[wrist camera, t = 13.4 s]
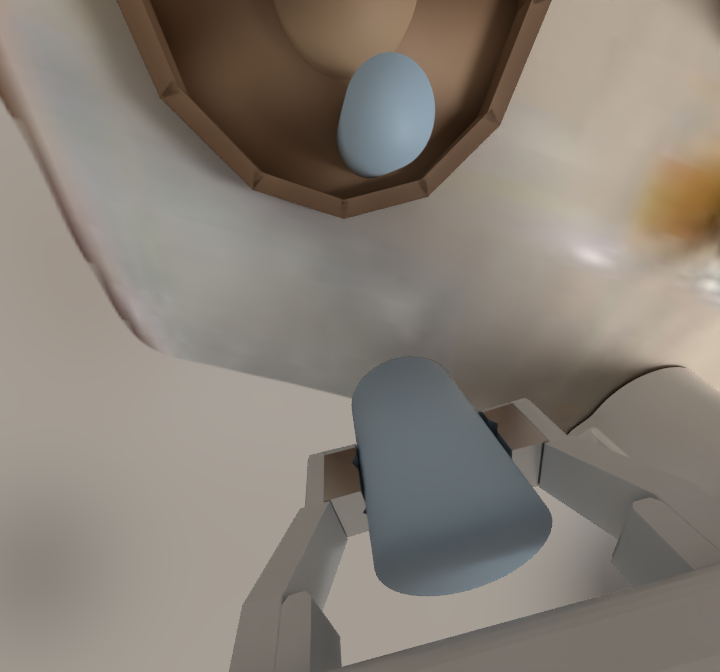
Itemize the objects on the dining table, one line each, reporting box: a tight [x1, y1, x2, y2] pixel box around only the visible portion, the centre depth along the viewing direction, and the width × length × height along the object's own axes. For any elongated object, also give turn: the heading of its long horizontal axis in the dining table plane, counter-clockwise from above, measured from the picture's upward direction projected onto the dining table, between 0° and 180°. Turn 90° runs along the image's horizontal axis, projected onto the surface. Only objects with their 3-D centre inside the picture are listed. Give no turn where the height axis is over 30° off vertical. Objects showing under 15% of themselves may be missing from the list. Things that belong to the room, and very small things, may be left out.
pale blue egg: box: [352, 357, 552, 596], centre depth 8 cm, size 4×4×5 cm
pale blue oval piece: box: [336, 52, 435, 178], centre depth 14 cm, size 4×4×5 cm
